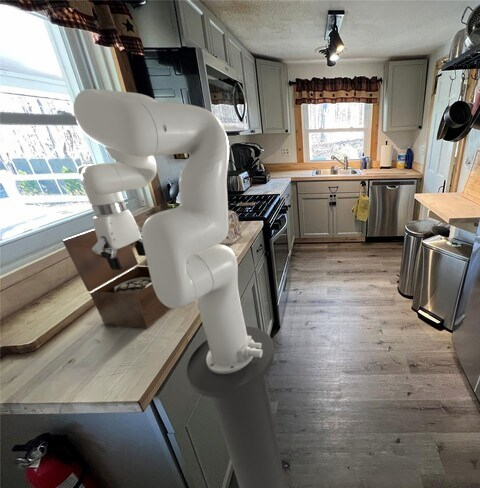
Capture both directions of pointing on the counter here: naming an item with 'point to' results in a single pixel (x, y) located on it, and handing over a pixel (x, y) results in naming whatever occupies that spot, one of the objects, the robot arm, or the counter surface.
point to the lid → (96, 260)
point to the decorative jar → (232, 229)
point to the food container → (132, 285)
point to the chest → (129, 302)
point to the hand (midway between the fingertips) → (130, 262)
